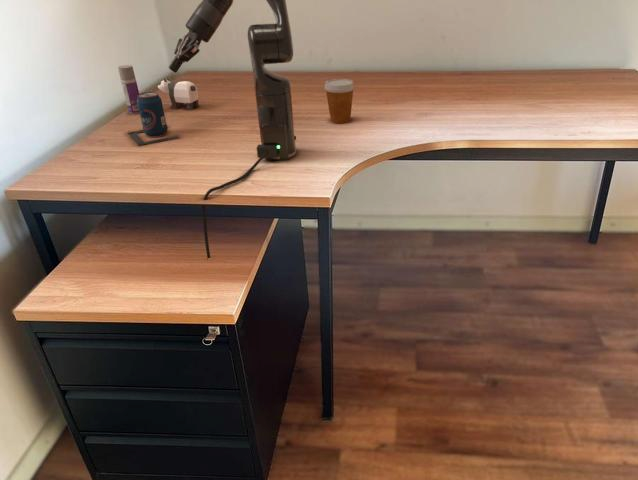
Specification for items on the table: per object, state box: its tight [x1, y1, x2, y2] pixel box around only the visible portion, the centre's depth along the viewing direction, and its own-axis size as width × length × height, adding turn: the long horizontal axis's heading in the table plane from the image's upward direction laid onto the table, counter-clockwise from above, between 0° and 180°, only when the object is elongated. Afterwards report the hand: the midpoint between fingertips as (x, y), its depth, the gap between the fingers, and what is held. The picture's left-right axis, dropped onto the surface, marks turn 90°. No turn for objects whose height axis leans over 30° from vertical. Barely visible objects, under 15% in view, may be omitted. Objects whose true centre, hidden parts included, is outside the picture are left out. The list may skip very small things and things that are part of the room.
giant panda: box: [157, 77, 199, 111], centre depth 189 cm, size 15×6×10 cm, turn 72°
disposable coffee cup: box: [323, 78, 355, 124], centre depth 173 cm, size 10×10×12 cm
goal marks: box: [127, 126, 180, 147], centre depth 166 cm, size 12×14×1 cm
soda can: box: [137, 91, 168, 138], centre depth 164 cm, size 7×7×12 cm
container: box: [117, 64, 140, 115], centre depth 183 cm, size 5×5×15 cm
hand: (172, 70), depth 161 cm, fingers closed
